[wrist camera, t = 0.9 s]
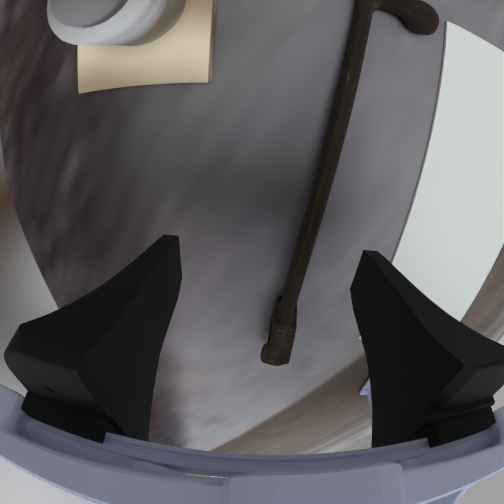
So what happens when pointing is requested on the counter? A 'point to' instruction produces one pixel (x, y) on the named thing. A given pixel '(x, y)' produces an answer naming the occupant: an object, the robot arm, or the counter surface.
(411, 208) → the tool mat
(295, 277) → the dark brown hooked rod
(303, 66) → the counter surface
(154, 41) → the cup on beige base
